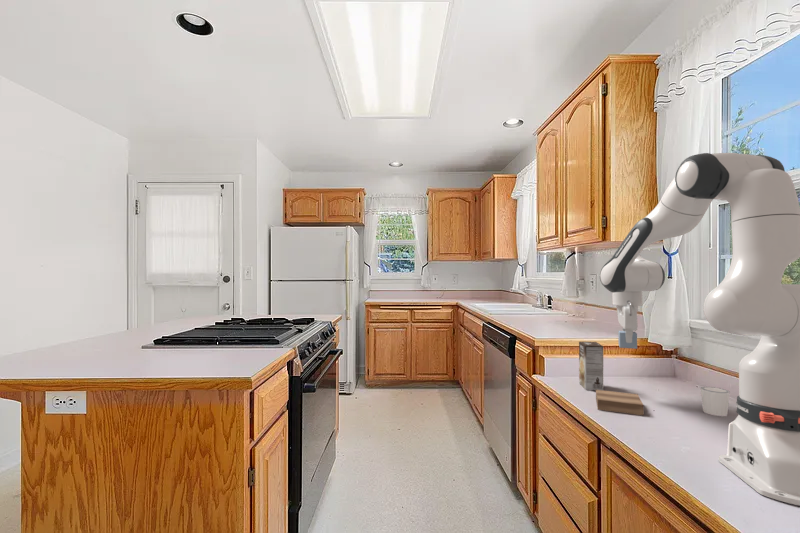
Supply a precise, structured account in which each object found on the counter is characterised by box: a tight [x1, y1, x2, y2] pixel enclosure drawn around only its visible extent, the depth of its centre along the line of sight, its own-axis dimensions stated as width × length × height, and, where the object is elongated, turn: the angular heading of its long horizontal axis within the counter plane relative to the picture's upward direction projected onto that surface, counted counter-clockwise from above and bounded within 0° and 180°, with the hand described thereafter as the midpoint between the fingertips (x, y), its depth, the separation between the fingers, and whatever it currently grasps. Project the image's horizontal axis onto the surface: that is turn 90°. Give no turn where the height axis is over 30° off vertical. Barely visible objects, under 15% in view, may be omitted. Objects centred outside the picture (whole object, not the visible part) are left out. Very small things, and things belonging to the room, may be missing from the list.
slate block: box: [617, 330, 638, 350], centre depth 133 cm, size 5×5×5 cm
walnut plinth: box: [595, 389, 645, 416], centre depth 123 cm, size 12×12×3 cm
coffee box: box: [578, 341, 604, 391], centre depth 145 cm, size 9×6×16 cm
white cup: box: [700, 386, 731, 417], centre depth 118 cm, size 7×7×7 cm
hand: (627, 341), depth 133 cm, fingers closed on slate block, 5 cm apart
